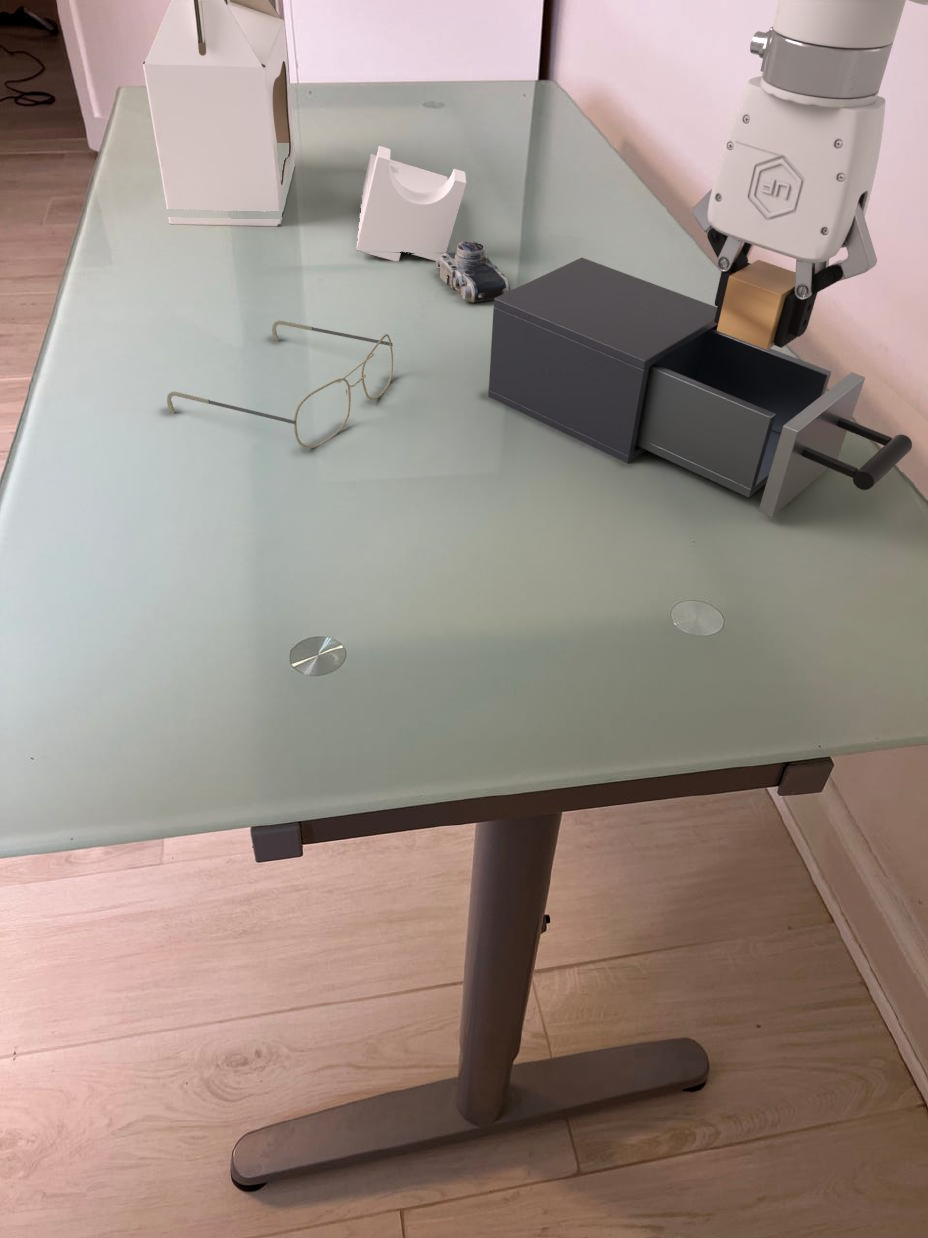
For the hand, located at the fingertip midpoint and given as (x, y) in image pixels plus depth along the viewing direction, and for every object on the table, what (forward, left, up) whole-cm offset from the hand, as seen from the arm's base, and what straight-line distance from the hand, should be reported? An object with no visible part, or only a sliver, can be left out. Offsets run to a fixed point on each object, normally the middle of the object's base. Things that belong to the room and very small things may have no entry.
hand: (757, 327), depth 76 cm
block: (0, 0, 0) cm, 0 cm away
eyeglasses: (+38, -8, -12) cm, 41 cm away
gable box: (+53, -57, -12) cm, 79 cm away
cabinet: (+10, -9, -12) cm, 18 cm away
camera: (+22, -33, -12) cm, 41 cm away
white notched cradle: (+30, -47, -12) cm, 57 cm away
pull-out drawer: (-2, +2, -11) cm, 12 cm away
